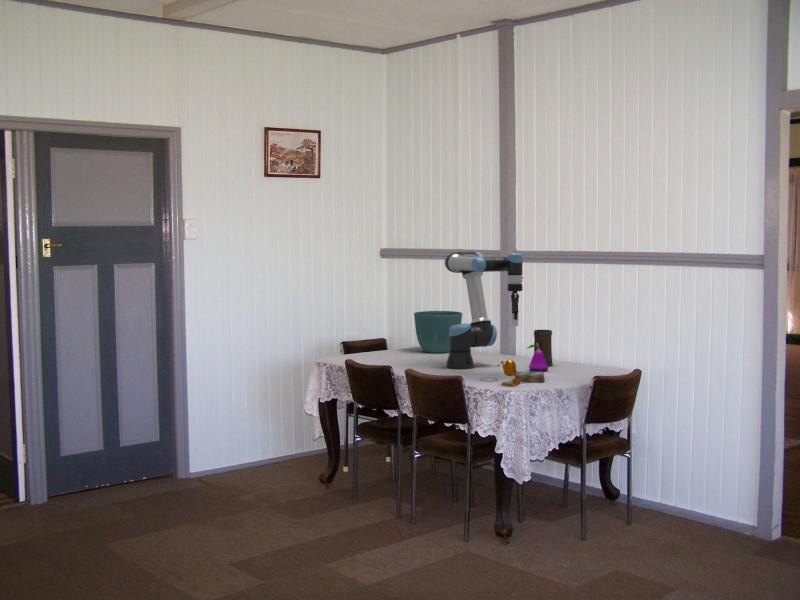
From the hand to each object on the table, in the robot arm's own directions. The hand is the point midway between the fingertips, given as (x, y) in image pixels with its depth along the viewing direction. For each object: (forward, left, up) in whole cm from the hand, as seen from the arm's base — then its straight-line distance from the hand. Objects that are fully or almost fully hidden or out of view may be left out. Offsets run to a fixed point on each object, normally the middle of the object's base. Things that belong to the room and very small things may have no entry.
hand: (515, 324), depth 461 cm
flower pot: (-48, +91, -26) cm, 106 cm away
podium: (+7, -17, -26) cm, 32 cm away
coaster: (-13, -19, -26) cm, 35 cm away
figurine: (-2, -31, -26) cm, 41 cm away
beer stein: (+15, +37, -26) cm, 48 cm away
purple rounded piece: (+12, +15, -26) cm, 32 cm away
